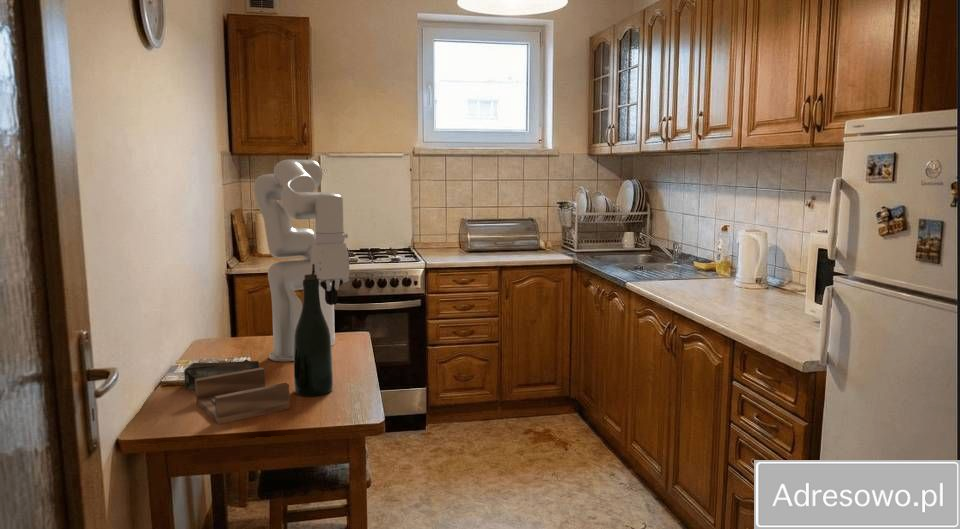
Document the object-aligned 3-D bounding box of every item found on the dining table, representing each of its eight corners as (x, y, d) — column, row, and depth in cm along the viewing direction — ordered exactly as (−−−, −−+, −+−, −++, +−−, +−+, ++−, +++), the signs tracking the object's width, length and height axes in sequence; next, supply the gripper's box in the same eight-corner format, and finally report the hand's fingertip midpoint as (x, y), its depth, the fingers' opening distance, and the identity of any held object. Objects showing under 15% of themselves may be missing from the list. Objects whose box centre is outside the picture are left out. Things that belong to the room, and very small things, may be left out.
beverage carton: (193, 381, 200) (192, 359, 199) (260, 380, 201) (260, 358, 201) (184, 390, 192) (183, 367, 191) (254, 389, 194) (253, 366, 193)
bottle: (329, 347, 237) (327, 261, 232) (308, 346, 238) (305, 261, 234) (338, 342, 244) (336, 258, 240) (318, 340, 246) (315, 258, 242)
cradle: (195, 402, 181) (194, 379, 181) (262, 389, 192) (261, 367, 191) (218, 424, 167) (217, 398, 166) (289, 408, 178) (288, 384, 177)
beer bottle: (309, 383, 198) (306, 270, 194) (340, 387, 195) (337, 272, 190) (286, 394, 189) (282, 276, 184) (318, 399, 185) (315, 278, 180)
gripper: (348, 236, 197) (349, 298, 199) (298, 239, 188) (300, 305, 190) (360, 238, 191) (361, 303, 193) (310, 241, 182) (312, 309, 184)
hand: (331, 303), depth 192 cm, fingers closed
